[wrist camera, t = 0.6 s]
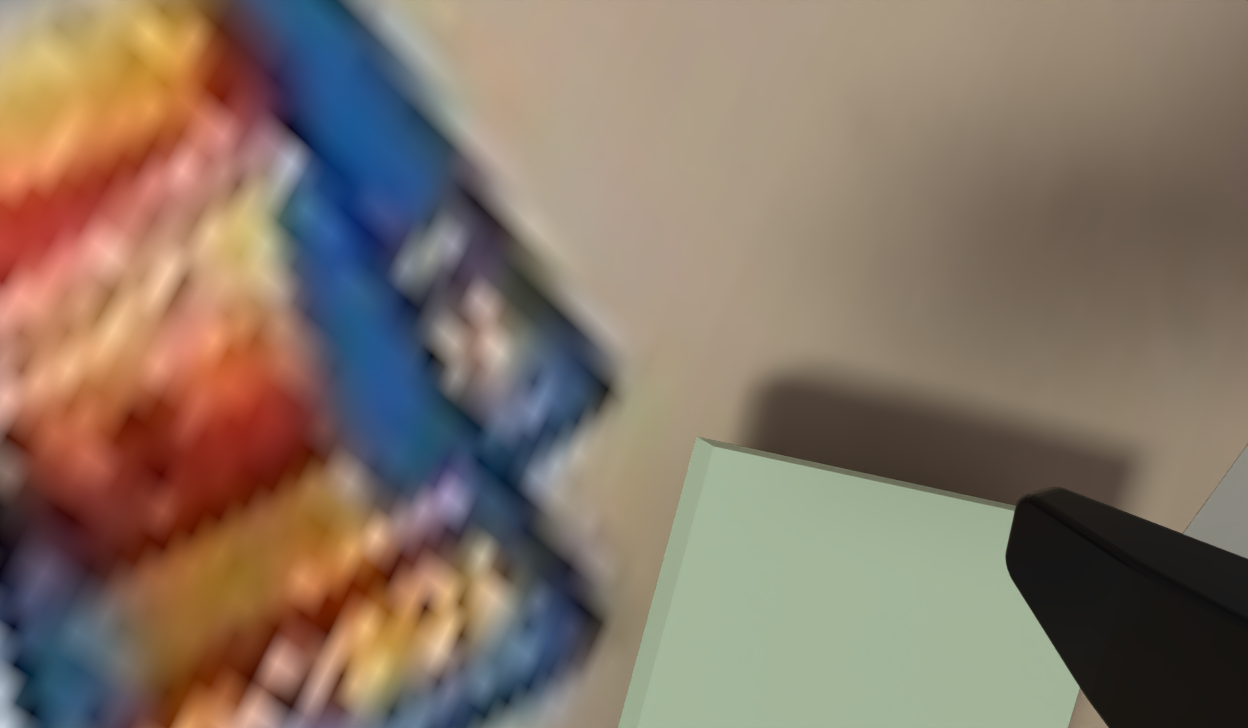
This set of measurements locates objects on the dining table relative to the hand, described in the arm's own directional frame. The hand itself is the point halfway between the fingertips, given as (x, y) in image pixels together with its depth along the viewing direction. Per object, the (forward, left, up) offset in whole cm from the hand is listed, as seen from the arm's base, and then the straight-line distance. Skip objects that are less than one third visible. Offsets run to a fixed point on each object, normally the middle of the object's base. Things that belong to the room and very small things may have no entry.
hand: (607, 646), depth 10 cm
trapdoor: (-4, -12, -13) cm, 18 cm away
